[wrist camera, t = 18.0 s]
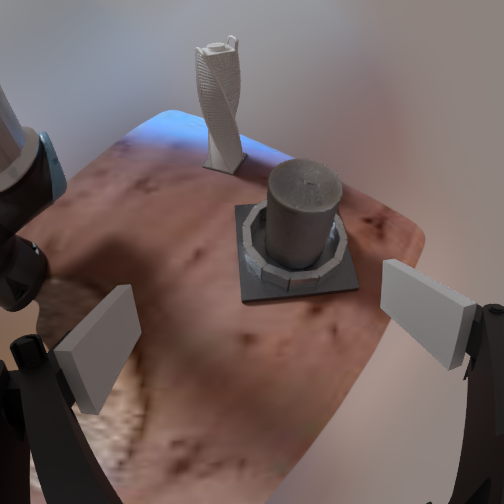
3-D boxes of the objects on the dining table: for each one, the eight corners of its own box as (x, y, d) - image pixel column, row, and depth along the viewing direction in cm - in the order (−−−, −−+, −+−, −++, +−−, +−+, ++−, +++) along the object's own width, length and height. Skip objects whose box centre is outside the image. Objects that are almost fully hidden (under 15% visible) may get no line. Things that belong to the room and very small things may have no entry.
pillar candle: (252, 236, 48) (251, 168, 35) (298, 210, 51) (309, 142, 38) (290, 281, 44) (303, 218, 31) (336, 249, 47) (361, 184, 34)
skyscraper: (253, 156, 61) (250, 31, 37) (237, 180, 57) (227, 43, 33) (218, 148, 63) (205, 29, 39) (200, 170, 59) (178, 42, 35)
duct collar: (242, 302, 43) (240, 291, 40) (235, 209, 53) (233, 193, 49) (357, 290, 44) (365, 278, 40) (331, 202, 53) (335, 188, 50)
